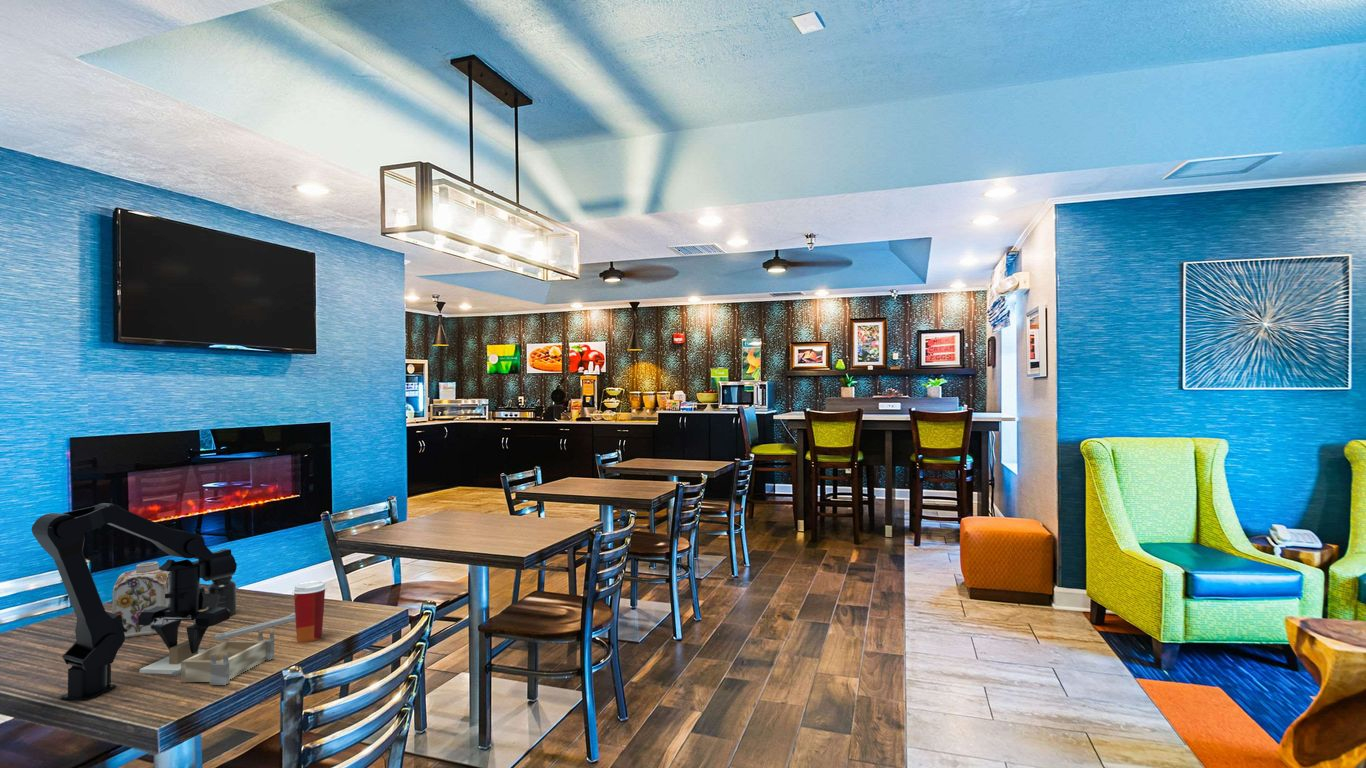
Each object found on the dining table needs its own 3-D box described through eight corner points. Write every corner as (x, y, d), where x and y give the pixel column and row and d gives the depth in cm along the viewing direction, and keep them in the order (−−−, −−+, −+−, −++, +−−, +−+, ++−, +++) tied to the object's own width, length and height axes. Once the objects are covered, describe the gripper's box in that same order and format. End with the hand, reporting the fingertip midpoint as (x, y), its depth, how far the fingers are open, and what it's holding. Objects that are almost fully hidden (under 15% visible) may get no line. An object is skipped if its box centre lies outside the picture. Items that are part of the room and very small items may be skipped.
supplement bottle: (212, 612, 194) (212, 571, 195) (239, 610, 197) (239, 569, 197) (203, 620, 188) (203, 577, 188) (231, 617, 190) (231, 575, 190)
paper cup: (318, 631, 178) (319, 578, 178) (331, 637, 173) (331, 583, 173) (286, 639, 172) (287, 585, 172) (298, 646, 167) (299, 590, 167)
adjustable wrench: (217, 643, 171) (217, 636, 171) (209, 637, 175) (210, 631, 175) (320, 618, 190) (320, 611, 190) (312, 613, 194) (312, 607, 194)
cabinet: (229, 657, 160) (230, 630, 160) (273, 658, 159) (274, 631, 159) (176, 684, 145) (177, 654, 145) (225, 685, 144) (225, 655, 144)
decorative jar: (164, 634, 177) (165, 566, 177) (110, 640, 172) (111, 570, 173) (179, 620, 188) (180, 556, 188) (129, 626, 184) (129, 560, 184)
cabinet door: (188, 652, 165) (188, 632, 165) (226, 652, 164) (226, 633, 164) (134, 676, 150) (135, 655, 150) (176, 677, 149) (176, 656, 149)
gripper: (247, 577, 165) (246, 641, 164) (176, 576, 166) (175, 639, 166) (211, 590, 154) (210, 658, 153) (136, 589, 155) (135, 656, 155)
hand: (183, 652), depth 157 cm, fingers open, 5 cm apart
